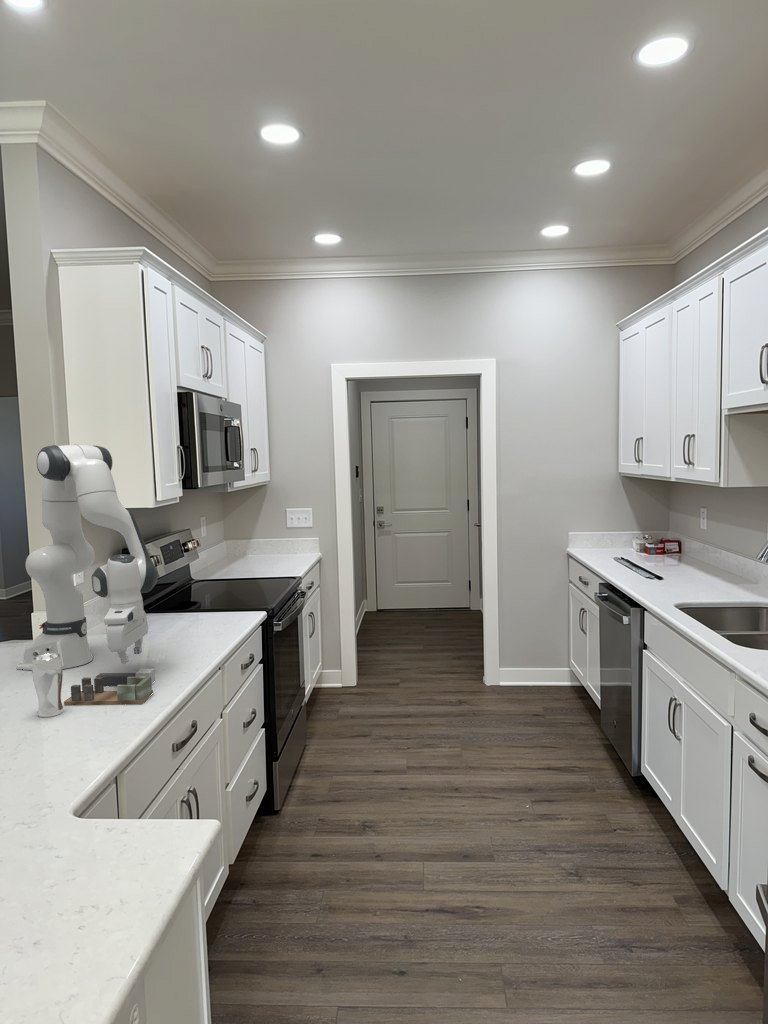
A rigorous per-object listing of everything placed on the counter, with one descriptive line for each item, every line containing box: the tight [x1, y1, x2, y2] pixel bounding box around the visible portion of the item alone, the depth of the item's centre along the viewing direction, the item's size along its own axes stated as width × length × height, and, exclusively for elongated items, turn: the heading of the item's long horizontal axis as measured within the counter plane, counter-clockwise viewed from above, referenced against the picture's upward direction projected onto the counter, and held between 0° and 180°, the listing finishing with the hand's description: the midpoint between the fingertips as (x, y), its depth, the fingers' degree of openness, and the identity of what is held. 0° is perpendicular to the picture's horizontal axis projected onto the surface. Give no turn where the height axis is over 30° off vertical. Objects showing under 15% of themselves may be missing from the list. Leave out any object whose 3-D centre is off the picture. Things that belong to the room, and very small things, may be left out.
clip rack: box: [63, 676, 154, 706], centre depth 185 cm, size 21×8×5 cm, turn 88°
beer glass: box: [31, 653, 64, 718], centre depth 176 cm, size 7×7×15 cm
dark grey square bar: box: [95, 668, 156, 688], centre depth 197 cm, size 16×4×4 cm, turn 88°
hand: (131, 658), depth 197 cm, fingers open, 8 cm apart
